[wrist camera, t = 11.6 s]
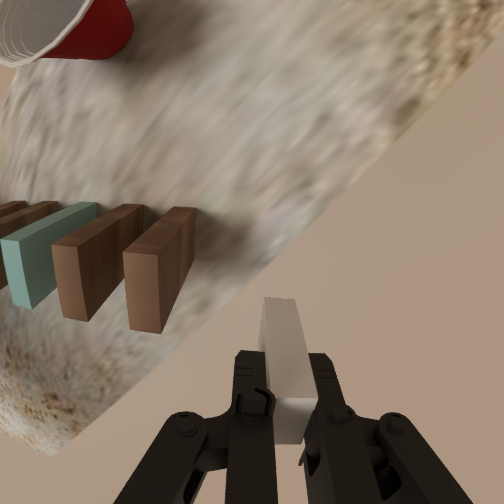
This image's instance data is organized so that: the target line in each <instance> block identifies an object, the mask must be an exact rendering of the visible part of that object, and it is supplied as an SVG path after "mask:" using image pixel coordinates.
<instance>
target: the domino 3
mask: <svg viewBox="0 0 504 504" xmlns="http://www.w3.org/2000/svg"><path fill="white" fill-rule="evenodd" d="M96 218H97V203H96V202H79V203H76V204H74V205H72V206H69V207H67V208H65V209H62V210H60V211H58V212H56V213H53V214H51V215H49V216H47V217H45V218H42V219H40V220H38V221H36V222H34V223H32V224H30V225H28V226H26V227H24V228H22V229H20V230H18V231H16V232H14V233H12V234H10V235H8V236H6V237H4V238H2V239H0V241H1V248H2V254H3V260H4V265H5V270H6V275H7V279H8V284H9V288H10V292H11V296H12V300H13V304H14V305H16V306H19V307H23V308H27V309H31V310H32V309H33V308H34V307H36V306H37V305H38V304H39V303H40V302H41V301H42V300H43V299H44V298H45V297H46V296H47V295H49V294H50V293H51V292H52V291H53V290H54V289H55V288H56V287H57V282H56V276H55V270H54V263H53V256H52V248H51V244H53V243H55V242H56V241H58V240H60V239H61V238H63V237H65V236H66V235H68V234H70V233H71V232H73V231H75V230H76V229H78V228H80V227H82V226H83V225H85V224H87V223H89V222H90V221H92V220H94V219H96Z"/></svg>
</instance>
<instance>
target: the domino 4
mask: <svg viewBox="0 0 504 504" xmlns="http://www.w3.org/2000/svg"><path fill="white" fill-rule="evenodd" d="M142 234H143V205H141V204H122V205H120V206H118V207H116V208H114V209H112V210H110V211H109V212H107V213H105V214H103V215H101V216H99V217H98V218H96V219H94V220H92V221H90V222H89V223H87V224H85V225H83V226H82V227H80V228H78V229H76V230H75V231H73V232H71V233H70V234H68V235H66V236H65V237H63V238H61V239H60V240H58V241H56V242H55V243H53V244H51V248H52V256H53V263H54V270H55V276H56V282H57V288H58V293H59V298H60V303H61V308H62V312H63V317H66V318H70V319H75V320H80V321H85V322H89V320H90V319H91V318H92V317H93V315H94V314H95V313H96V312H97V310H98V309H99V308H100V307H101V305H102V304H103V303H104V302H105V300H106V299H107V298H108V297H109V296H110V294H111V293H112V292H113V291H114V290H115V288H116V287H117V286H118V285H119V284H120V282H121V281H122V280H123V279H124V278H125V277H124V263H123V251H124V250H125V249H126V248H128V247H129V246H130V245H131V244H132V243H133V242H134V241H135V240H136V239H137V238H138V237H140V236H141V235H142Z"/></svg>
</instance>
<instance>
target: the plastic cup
mask: <svg viewBox="0 0 504 504" xmlns="http://www.w3.org/2000/svg"><path fill="white" fill-rule="evenodd" d="M132 30H133V21H132V16H131V13H130V11H129V9H128V7H127V5H126V1H125V0H0V64H2V65H4V66H7V67H10V68H13V67H17V66H20V65H24V64H28V63H32V62H35V61H36V60H38V59H40V58H64V59H87V60H98V59H106V58H108V57H110V56H112V55H115V54H116V53H117V52H118V51H120V50H121V49H122V48H123V47H124V46H125V45H126V43H127V42H128V40H129V39H130V37H131V34H132Z"/></svg>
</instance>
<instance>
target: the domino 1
mask: <svg viewBox="0 0 504 504" xmlns="http://www.w3.org/2000/svg"><path fill="white" fill-rule="evenodd" d="M24 208H25V201H12V202H9V203H6V204H3V205H1V206H0V218H2V217H5V216H7V215H9V214H12V213H14V212H17V211H19V210H22V209H24Z"/></svg>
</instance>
